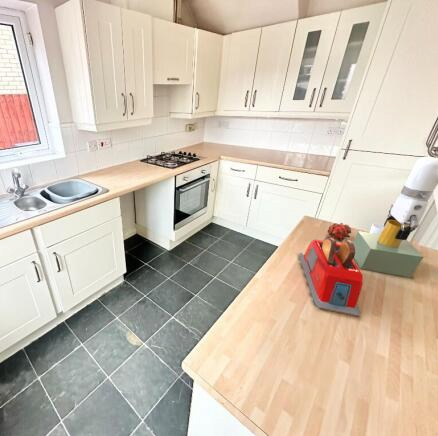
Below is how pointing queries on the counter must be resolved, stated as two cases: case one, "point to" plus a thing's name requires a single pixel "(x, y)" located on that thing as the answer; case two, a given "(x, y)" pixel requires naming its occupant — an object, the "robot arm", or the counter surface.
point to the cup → (390, 234)
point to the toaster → (333, 275)
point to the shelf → (385, 255)
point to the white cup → (377, 228)
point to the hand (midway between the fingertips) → (394, 232)
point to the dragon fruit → (339, 231)
